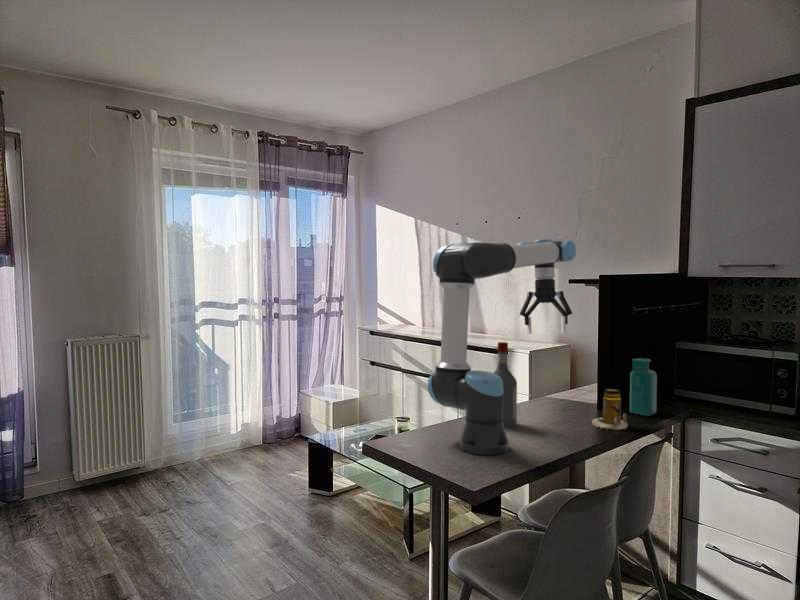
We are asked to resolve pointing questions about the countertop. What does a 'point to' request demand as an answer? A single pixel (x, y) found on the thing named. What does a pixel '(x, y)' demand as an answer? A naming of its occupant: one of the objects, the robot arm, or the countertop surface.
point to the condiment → (611, 407)
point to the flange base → (613, 427)
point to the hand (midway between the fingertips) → (546, 333)
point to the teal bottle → (643, 388)
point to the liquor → (507, 387)
